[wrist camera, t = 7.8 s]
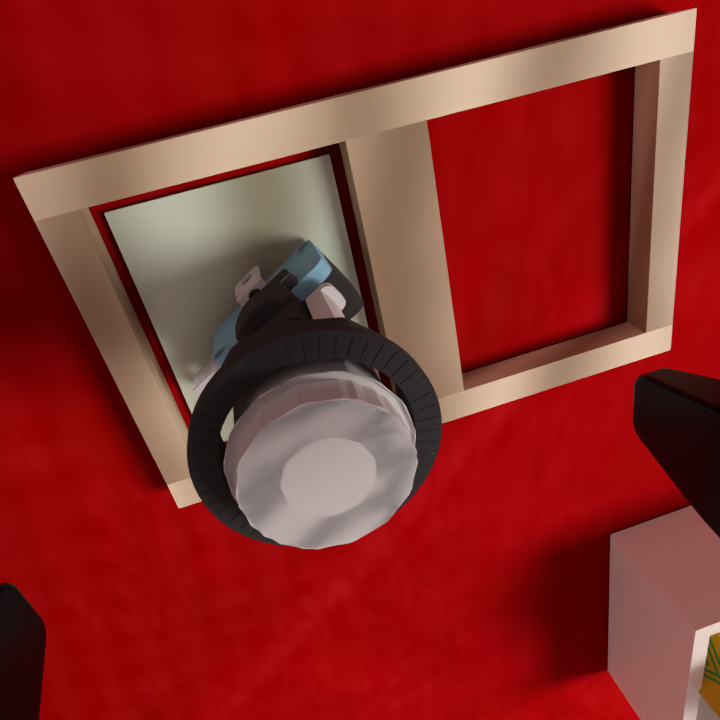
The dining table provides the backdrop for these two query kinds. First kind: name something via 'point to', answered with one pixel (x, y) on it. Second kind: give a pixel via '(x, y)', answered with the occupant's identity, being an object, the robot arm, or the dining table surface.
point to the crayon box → (712, 674)
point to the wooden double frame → (373, 219)
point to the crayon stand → (664, 614)
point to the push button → (308, 413)
